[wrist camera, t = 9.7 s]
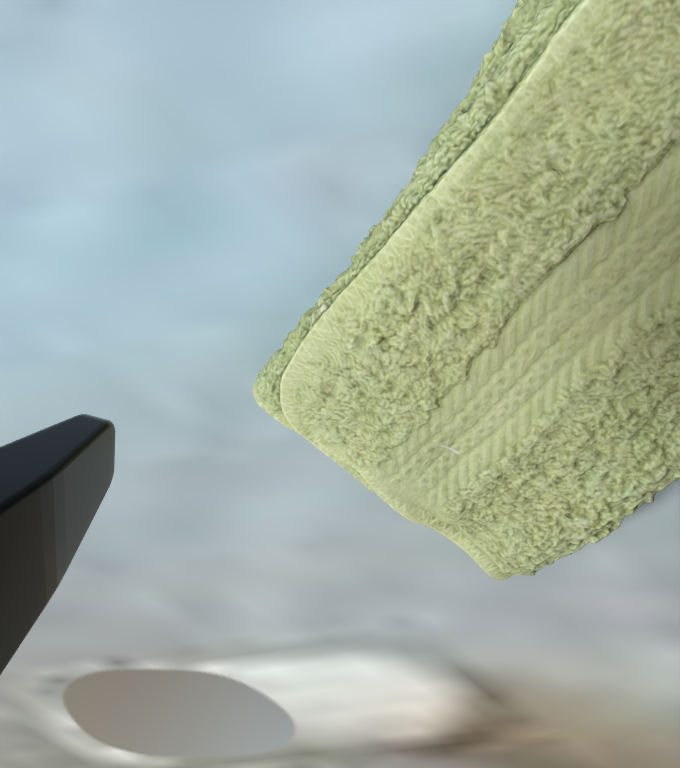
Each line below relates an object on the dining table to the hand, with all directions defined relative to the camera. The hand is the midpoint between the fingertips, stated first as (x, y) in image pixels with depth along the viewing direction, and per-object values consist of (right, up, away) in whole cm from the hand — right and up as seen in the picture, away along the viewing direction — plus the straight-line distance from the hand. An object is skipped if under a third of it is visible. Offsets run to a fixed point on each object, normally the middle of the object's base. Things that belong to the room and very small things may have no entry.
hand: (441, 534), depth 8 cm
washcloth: (+6, +5, +11) cm, 13 cm away
